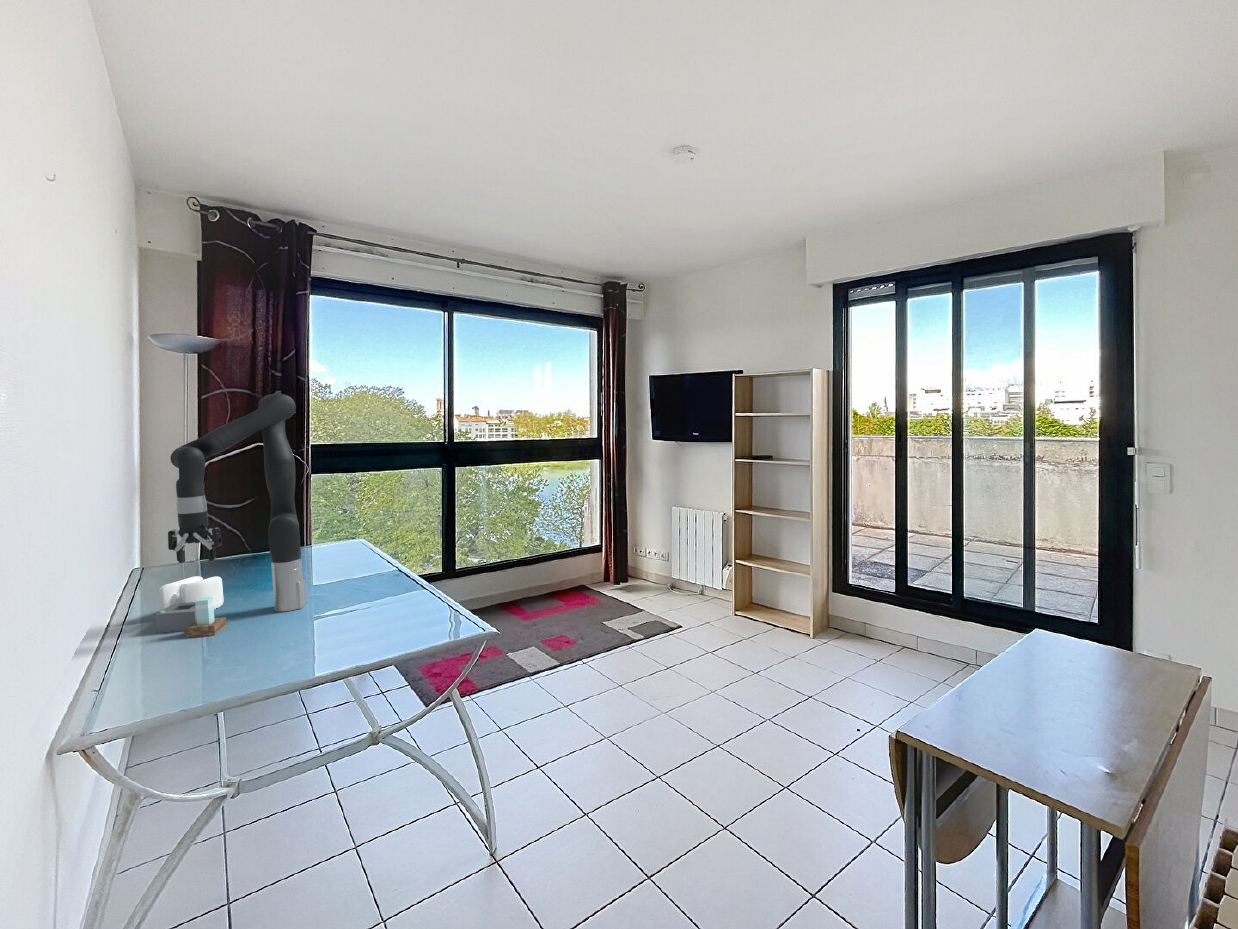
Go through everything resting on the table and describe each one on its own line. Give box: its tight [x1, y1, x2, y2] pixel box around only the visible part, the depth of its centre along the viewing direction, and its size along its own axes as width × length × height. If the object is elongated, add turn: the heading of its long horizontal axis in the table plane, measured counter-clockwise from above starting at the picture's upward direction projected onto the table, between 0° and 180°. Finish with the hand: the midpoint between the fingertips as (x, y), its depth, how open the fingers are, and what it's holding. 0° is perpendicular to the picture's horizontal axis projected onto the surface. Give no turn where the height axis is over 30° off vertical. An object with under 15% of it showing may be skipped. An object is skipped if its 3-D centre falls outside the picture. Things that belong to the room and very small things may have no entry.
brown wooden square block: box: [184, 616, 227, 639], centre depth 182 cm, size 8×8×3 cm
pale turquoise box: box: [195, 597, 216, 625], centre depth 182 cm, size 4×4×10 cm
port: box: [154, 602, 197, 634], centre depth 189 cm, size 11×11×6 cm
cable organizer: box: [158, 575, 225, 612], centre depth 201 cm, size 15×11×12 cm
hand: (197, 561), depth 181 cm, fingers open, 8 cm apart
